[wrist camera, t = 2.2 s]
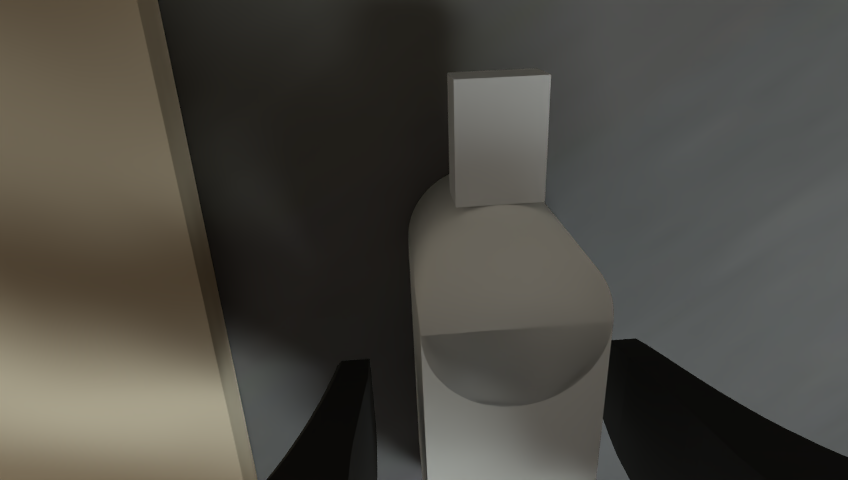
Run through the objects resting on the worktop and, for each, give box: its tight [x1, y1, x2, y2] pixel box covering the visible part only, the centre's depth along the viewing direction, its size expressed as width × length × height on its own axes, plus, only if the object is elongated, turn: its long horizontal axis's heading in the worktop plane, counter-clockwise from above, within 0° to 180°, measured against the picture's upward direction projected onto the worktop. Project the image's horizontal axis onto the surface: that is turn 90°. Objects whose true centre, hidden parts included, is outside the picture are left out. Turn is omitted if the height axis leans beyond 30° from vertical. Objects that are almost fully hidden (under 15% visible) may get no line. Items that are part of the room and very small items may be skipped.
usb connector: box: [408, 68, 614, 480], centre depth 12 cm, size 11×3×4 cm, turn 2°
